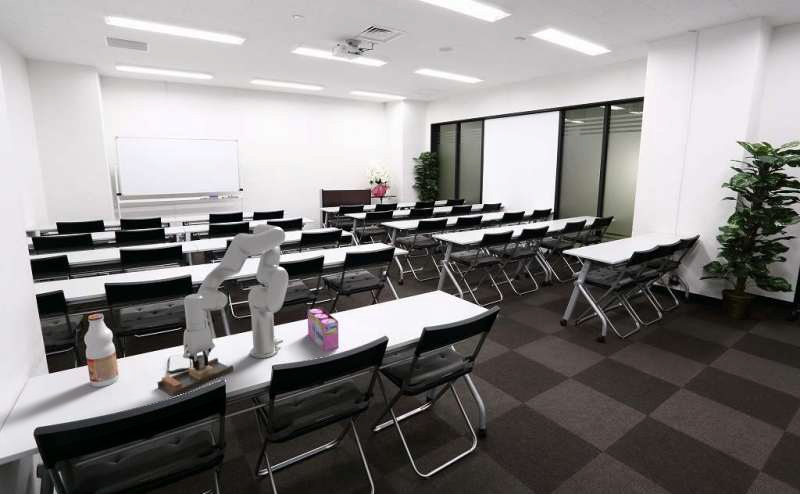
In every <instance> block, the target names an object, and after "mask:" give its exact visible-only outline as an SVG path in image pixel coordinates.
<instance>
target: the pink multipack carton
mask: <svg viewBox="0 0 800 494" xmlns="http://www.w3.org/2000/svg"><path fill="white" fill-rule="evenodd" d="M307 334H308V336H310V338H311V339H312V340H313V341H314V342H315V343H316V344H317V346H318V347H319V348H320V349H321V350H323V352H325V351H329V350H334V349H337V348H339V321H338V320H337V319H336V318H335V317H334V316H333V315H331V314H330V313H329V312H328V311H326V310H325V309H324V307H321V306H318V307H317V308H312V309H310V308H307Z"/></svg>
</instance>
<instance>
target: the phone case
mask: <svg viewBox="0 0 800 494" xmlns="http://www.w3.org/2000/svg"><path fill="white" fill-rule="evenodd" d="M183 354H184V353H182V354H176V355H172V356H171V355H170V356H169V357H168V365H167V367H168V368H167V371H168V372H167V373H168V374H169V375H173V374H174V375H175V374H179V373H181V372H183V371H186V370H188V369H189V368H190V367H192V360H191V359H187V358H183ZM188 355H190V354H188Z"/></svg>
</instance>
